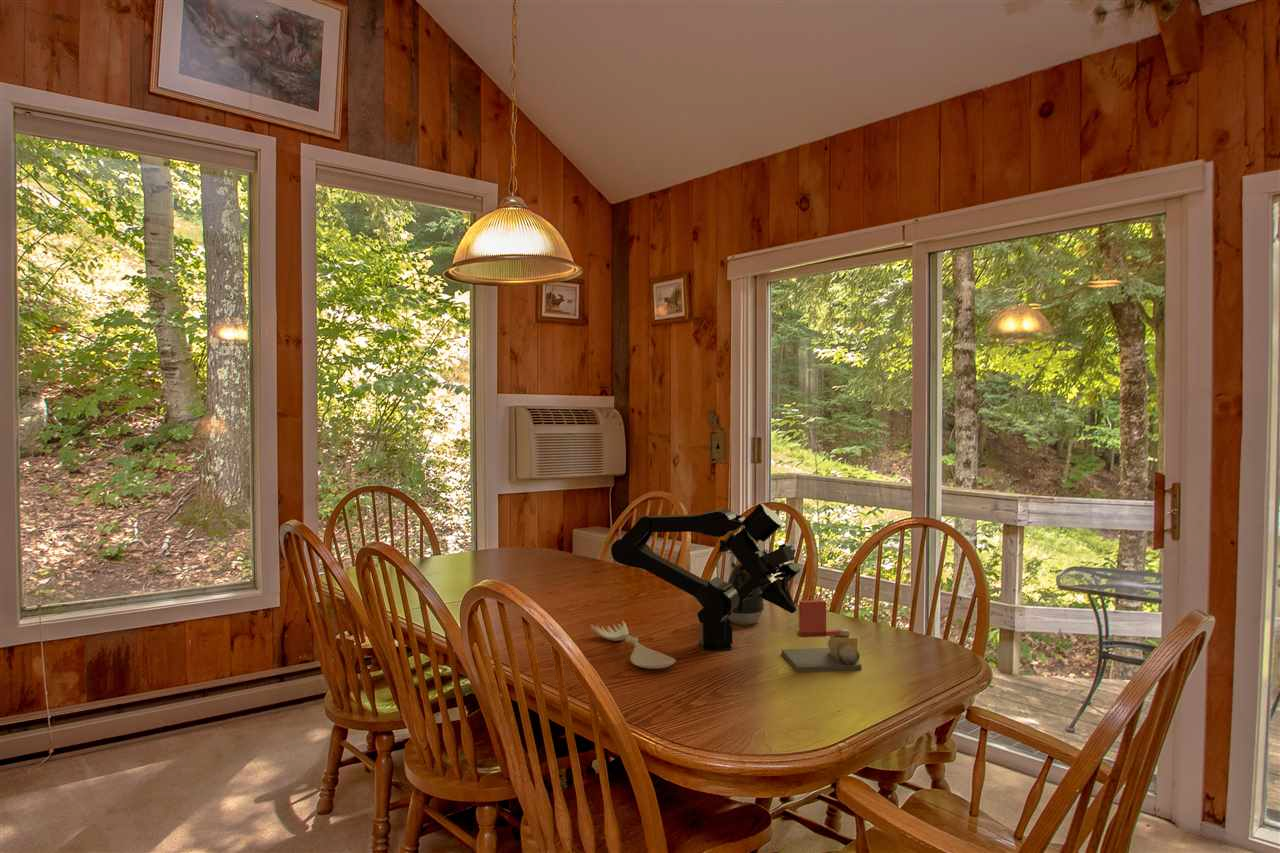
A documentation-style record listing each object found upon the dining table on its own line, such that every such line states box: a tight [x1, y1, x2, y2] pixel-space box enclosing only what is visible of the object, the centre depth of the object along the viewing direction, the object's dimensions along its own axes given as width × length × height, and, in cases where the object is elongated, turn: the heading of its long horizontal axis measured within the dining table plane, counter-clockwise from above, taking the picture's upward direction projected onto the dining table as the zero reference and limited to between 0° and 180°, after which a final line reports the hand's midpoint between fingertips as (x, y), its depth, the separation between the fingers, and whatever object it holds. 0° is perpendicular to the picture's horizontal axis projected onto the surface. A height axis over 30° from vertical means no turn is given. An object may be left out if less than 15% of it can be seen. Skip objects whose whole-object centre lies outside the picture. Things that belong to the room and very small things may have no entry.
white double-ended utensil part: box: [590, 620, 677, 670], centre depth 175 cm, size 9×32×4 cm, turn 24°
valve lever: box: [796, 599, 850, 638], centre depth 166 cm, size 11×2×8 cm, turn 96°
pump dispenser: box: [726, 562, 765, 626], centre depth 199 cm, size 10×10×15 cm
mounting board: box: [781, 647, 862, 673], centre depth 168 cm, size 14×12×1 cm
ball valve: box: [827, 631, 861, 665], centre depth 166 cm, size 4×9×5 cm, turn 6°
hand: (794, 611), depth 168 cm, fingers closed
